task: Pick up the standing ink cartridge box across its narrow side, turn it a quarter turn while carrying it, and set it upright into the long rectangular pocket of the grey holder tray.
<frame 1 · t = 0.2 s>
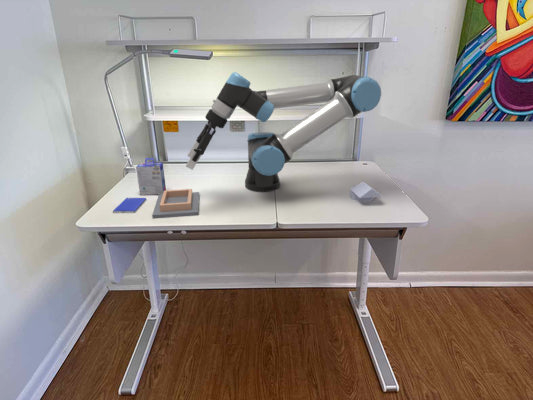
hand: (189, 162, 136), 16 cm above the table, tool tilted 35°, fingers open, 13 cm apart
pale grey faceted rock: (363, 199, 143), on the table
ink cartridge box: (153, 193, 151), on the table
hard drive: (130, 208, 139), on the table
grey holder tray: (177, 205, 138), on the table
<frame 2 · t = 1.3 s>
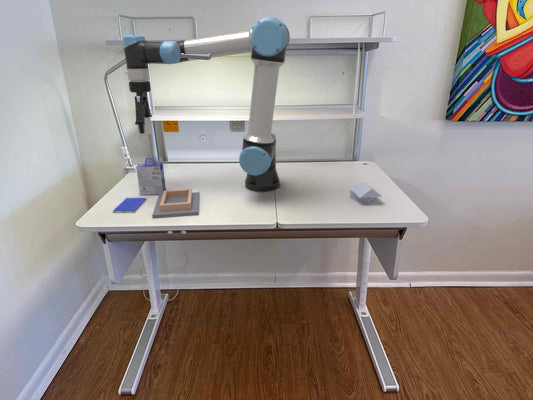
hand: (146, 137, 142), 23 cm above the table, tool pointing down, fingers open, 13 cm apart
nothing on the table moved.
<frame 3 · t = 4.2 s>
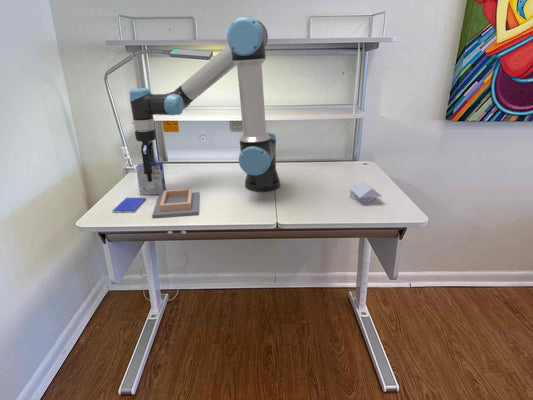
hand: (152, 185, 150), 3 cm above the table, tool pointing down, fingers closed on ink cartridge box, 6 cm apart
ink cartridge box: (153, 192, 151), on the table, touching gripper
everything else where it was.
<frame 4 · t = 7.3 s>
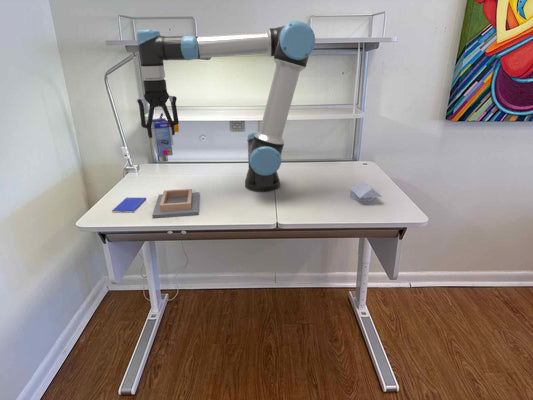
hand: (163, 144, 134), 22 cm above the table, tool pointing down, fingers closed on ink cartridge box, 6 cm apart
ink cartridge box: (164, 153, 135), point 19 cm above the table, touching gripper
everything else where it was.
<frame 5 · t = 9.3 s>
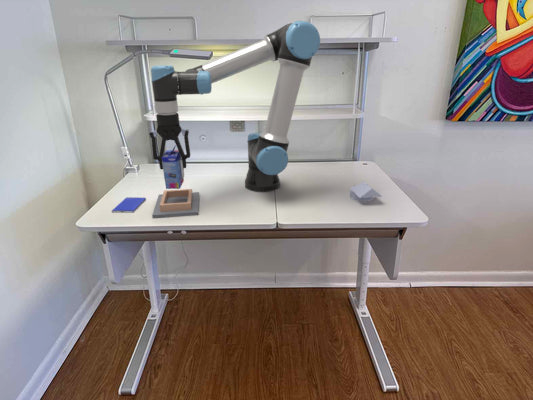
hand: (174, 176, 134), 12 cm above the table, tool pointing down, fingers closed on ink cartridge box, 6 cm apart
ink cartridge box: (175, 185, 135), point 8 cm above the table, touching gripper
everything else where it was.
when the fingers open (6 cm above the table, at t = 10.8 s): ink cartridge box drops 1 cm, resting on grey holder tray.
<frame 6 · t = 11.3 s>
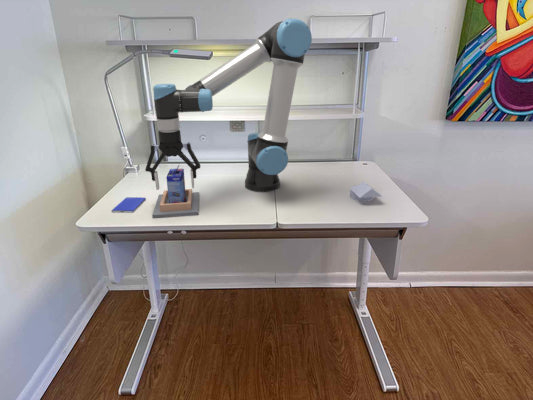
hand: (175, 187, 135), 7 cm above the table, tool pointing down, fingers open, 12 cm apart
ink cartridge box: (178, 203, 138), point 1 cm above the table, touching grey holder tray
everything else where it was.
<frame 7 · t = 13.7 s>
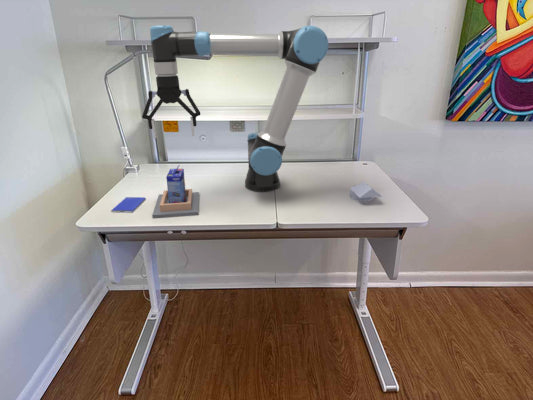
hand: (174, 136, 133), 26 cm above the table, tool pointing down, fingers open, 13 cm apart
nothing on the table moved.
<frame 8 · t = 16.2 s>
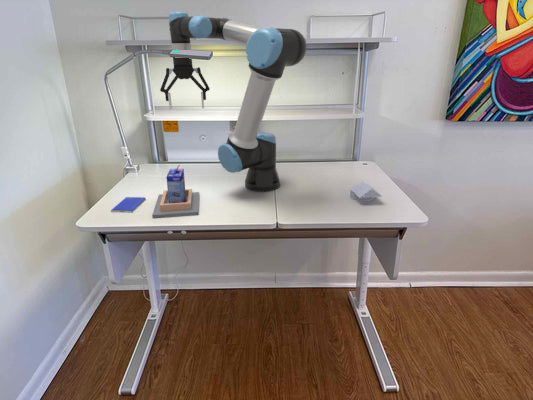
hand: (187, 108, 155), 32 cm above the table, tool pointing down, fingers open, 13 cm apart
nothing on the table moved.
at the end: ink cartridge box 0.3 cm off-centre on the grey holder tray, point 1.0 cm above the grey holder tray's base; ink cartridge box tilted 0°; the gripper is holding nothing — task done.
